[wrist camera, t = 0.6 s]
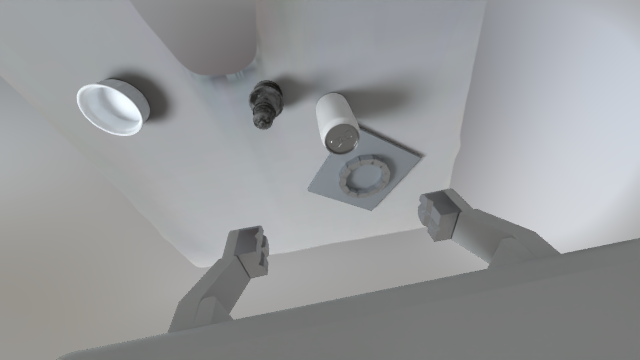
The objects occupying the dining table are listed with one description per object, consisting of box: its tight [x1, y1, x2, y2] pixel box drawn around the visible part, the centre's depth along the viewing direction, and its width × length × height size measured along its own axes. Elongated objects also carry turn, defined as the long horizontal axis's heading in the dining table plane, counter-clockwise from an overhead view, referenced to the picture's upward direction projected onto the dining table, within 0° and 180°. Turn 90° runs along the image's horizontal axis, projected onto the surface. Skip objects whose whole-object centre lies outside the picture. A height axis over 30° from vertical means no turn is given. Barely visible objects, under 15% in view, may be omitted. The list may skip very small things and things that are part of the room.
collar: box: [338, 154, 390, 198], centre depth 55 cm, size 12×12×2 cm
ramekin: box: [77, 79, 150, 136], centre depth 39 cm, size 9×9×4 cm
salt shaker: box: [249, 81, 284, 130], centre depth 38 cm, size 6×6×12 cm
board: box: [308, 127, 421, 211], centre depth 56 cm, size 20×20×1 cm
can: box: [316, 93, 360, 155], centre depth 40 cm, size 6×6×12 cm
